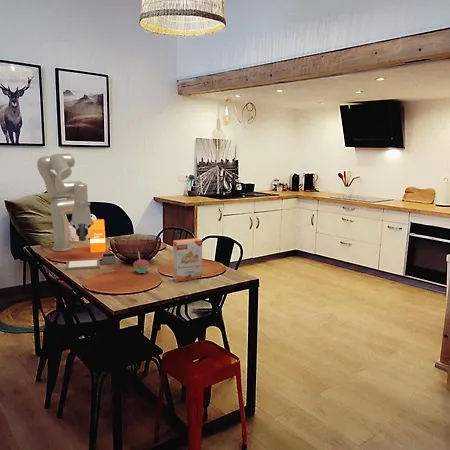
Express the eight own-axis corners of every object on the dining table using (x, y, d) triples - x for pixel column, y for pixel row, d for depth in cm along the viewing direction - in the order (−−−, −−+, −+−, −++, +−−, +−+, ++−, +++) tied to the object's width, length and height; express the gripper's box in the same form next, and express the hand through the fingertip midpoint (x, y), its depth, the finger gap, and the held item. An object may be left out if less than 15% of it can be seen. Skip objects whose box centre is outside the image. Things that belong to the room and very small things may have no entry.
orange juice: (91, 249, 279) (89, 218, 275) (105, 248, 281) (104, 218, 277) (90, 252, 271) (89, 221, 267) (105, 251, 274) (104, 220, 269)
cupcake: (130, 273, 233) (130, 252, 230) (139, 269, 241) (138, 248, 238) (144, 275, 230) (143, 254, 227) (152, 271, 238) (152, 250, 235)
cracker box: (177, 282, 220) (176, 242, 216) (172, 279, 225) (172, 240, 221) (202, 279, 227) (202, 240, 222) (197, 275, 232) (197, 237, 227)
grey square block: (102, 261, 254) (101, 253, 253) (114, 260, 256) (114, 253, 255) (102, 264, 247) (101, 257, 246) (115, 264, 249) (115, 256, 248)
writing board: (67, 262, 250) (67, 260, 250) (99, 260, 255) (99, 259, 255) (65, 270, 237) (65, 268, 237) (99, 267, 242) (99, 266, 241)
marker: (78, 239, 257) (78, 219, 254) (86, 239, 258) (85, 219, 255) (78, 241, 253) (77, 221, 250) (85, 240, 254) (85, 220, 251)
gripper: (96, 203, 256) (97, 233, 260) (66, 203, 252) (67, 234, 256) (96, 205, 249) (97, 236, 253) (65, 206, 245) (66, 237, 249)
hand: (82, 235), depth 255 cm, fingers closed on marker, 3 cm apart
